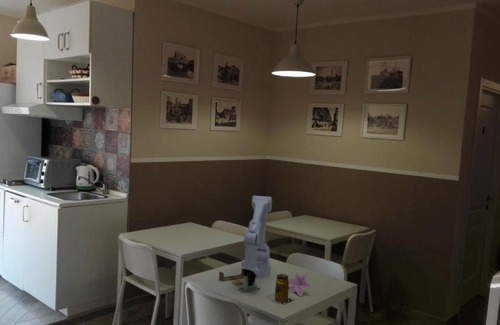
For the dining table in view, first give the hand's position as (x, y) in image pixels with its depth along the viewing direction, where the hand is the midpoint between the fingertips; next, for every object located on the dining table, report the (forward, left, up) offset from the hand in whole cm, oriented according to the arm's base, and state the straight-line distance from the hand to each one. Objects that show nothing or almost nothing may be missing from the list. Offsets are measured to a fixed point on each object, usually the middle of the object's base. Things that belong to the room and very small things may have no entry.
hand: (249, 284), depth 217 cm
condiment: (-10, +14, -4) cm, 18 cm away
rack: (0, -14, -4) cm, 15 cm away
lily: (-22, +9, -4) cm, 24 cm away
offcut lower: (0, -10, -3) cm, 11 cm away
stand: (0, 0, -4) cm, 4 cm away
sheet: (0, 0, -3) cm, 3 cm away
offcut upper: (0, -10, -2) cm, 10 cm away
